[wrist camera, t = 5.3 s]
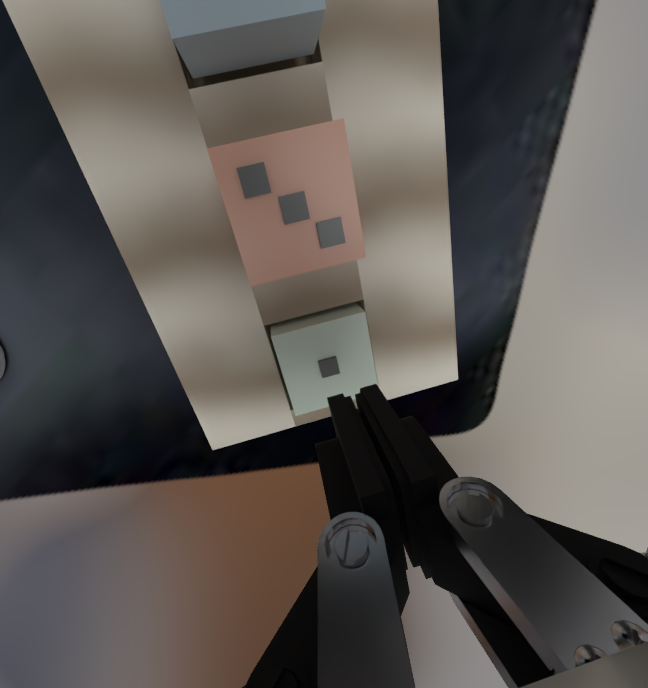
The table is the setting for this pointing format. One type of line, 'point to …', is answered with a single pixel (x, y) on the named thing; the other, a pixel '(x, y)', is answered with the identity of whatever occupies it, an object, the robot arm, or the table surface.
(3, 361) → the supplement bottle
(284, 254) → the key three dots
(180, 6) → the key two dots
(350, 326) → the key one dot
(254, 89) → the key panel
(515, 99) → the table surface
